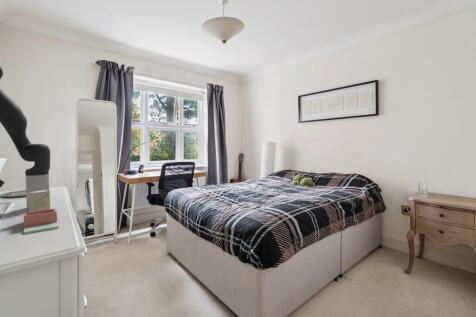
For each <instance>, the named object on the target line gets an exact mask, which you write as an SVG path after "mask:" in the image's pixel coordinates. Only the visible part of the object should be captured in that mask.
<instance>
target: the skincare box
mask: <svg viewBox="0 0 476 317" xmlns="http://www.w3.org/2000/svg"><path fill="white" fill-rule="evenodd" d="M50 192H51V191H50V189H49V190H41V191H35V192H28V201H29V209H28V212H33V211H40V210H48V209H51V193H50Z"/></svg>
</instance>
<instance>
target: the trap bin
mask: <svg viewBox="0 0 476 317" xmlns="http://www.w3.org/2000/svg"><path fill="white" fill-rule="evenodd" d="M51 223H58V211H57V209H56V208H50V209H48V210H40V211H33V212H29V211H25V212H23V229H24V228H26V227H32V226H38V225H44V224H51Z"/></svg>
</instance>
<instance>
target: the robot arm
mask: <svg viewBox="0 0 476 317" xmlns="http://www.w3.org/2000/svg"><path fill="white" fill-rule="evenodd" d="M3 76H4V70H3V68H2V66H1V65H0V80H1V79H2V78H3ZM0 124H1V125H2V127H3V128H4V129H5V131H6V133H7V134H8V136H9V137H10V139H11V141H12V143H13V145H14V146H15V148H16V151H17V152H18V154H19V156H20V158H21V159H23V161H26V162H31V163H32V162H33V163H34V165H33V166H31V167H30V168H27V169H26V170H25V193H26V197H25V198H26V199H25V201H26V202H25V203H26V210H29V201H28V192H35V191H41V190H49V191H50V178H49V177H50V176H49V173H50V168H51V149H50V147H49V146H48V145H47V144H44V143H31V141H30V140H29V138H28V136H27V133H26V132H27V128H28V119H27V117H26V115H25V113H24V112H23V111H22V109H21V108H20V106H19V104H17V103H16V101H15V100H13V98H11V97H10V96H9V95H8V94H7V93H6V92H5V91H4V90H3V89H2V88H1V87H0ZM4 184H5V181H3V180H2V179H0V188H1V187H3V186H4Z"/></svg>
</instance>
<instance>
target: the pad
mask: <svg viewBox="0 0 476 317" xmlns="http://www.w3.org/2000/svg"><path fill="white" fill-rule="evenodd" d="M59 228H60V226H59V224H58V222H57V223H51V224H44V225H38V226H32V227H26V228H24V227H23V235H26V234H33V233H39V232H44V231H49V230H55V229H59Z"/></svg>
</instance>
